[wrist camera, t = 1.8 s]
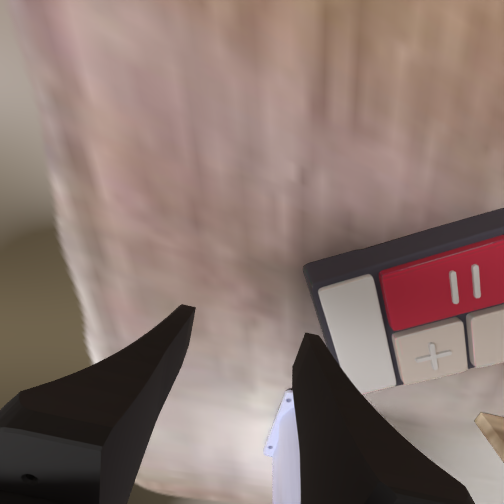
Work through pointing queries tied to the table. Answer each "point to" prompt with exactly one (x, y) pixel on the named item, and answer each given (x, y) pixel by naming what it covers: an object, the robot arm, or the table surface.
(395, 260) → the calculator
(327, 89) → the table surface
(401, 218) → the table surface
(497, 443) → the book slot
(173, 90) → the table surface
